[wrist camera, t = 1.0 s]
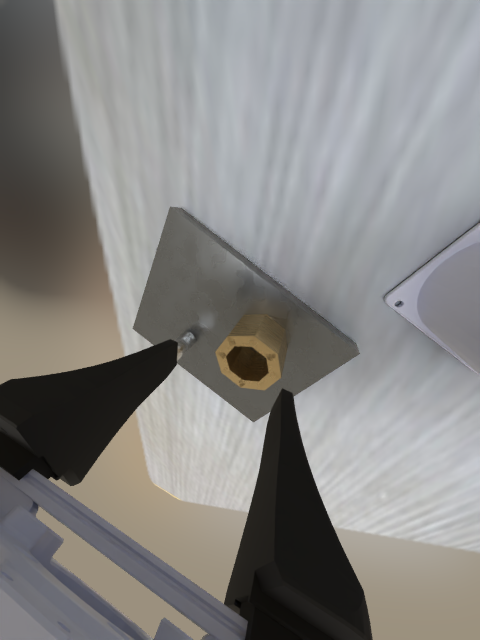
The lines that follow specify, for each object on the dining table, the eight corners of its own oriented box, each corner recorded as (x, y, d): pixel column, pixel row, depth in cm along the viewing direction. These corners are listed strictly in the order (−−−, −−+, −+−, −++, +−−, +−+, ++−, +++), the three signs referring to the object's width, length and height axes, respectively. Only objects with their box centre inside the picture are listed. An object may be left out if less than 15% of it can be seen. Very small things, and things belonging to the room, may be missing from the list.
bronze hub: (298, 338, 17) (294, 367, 13) (264, 368, 20) (254, 398, 16) (252, 303, 17) (237, 323, 13) (225, 338, 20) (207, 361, 16)
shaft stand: (356, 343, 17) (372, 389, 12) (256, 412, 25) (243, 454, 21) (181, 208, 17) (130, 201, 12) (141, 323, 25) (103, 345, 21)
